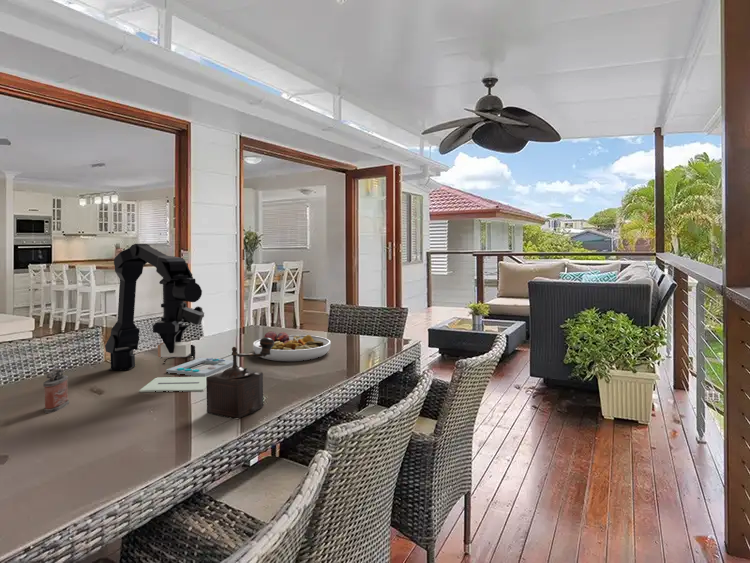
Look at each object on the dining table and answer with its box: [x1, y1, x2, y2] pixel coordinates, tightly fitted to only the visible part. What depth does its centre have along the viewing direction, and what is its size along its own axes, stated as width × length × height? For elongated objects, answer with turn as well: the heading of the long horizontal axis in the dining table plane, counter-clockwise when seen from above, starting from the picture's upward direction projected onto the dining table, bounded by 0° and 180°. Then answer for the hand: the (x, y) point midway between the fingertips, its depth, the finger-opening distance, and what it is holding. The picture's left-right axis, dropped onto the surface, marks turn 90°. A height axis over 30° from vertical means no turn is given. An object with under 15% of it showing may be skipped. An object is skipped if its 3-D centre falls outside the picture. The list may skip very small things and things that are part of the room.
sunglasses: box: [160, 344, 196, 363], centre depth 179 cm, size 11×12×5 cm
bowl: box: [252, 331, 331, 362], centre depth 191 cm, size 30×30×8 cm
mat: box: [138, 376, 208, 393], centre depth 147 cm, size 18×14×1 cm
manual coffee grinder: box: [206, 336, 274, 419], centre depth 127 cm, size 16×11×18 cm
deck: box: [157, 341, 192, 358], centre depth 146 cm, size 5×8×4 cm, turn 95°
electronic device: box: [165, 357, 233, 377], centre depth 167 cm, size 18×2×15 cm
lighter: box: [42, 368, 70, 414], centre depth 126 cm, size 8×3×10 cm, turn 5°
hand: (174, 351), depth 146 cm, fingers closed on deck, 5 cm apart
